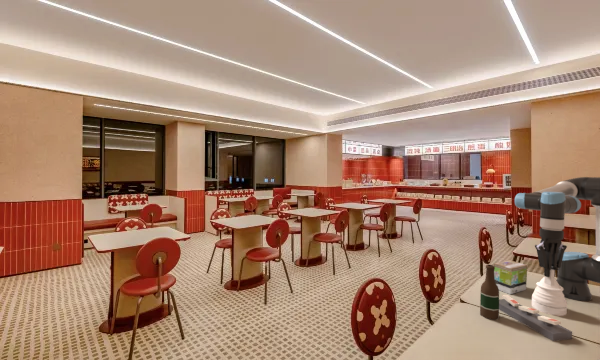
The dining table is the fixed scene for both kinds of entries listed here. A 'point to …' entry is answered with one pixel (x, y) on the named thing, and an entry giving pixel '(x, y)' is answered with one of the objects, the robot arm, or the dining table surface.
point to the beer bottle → (489, 295)
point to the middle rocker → (528, 309)
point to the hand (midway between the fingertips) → (549, 284)
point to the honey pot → (549, 298)
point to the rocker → (511, 300)
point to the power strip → (535, 322)
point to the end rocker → (549, 320)
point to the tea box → (510, 276)
